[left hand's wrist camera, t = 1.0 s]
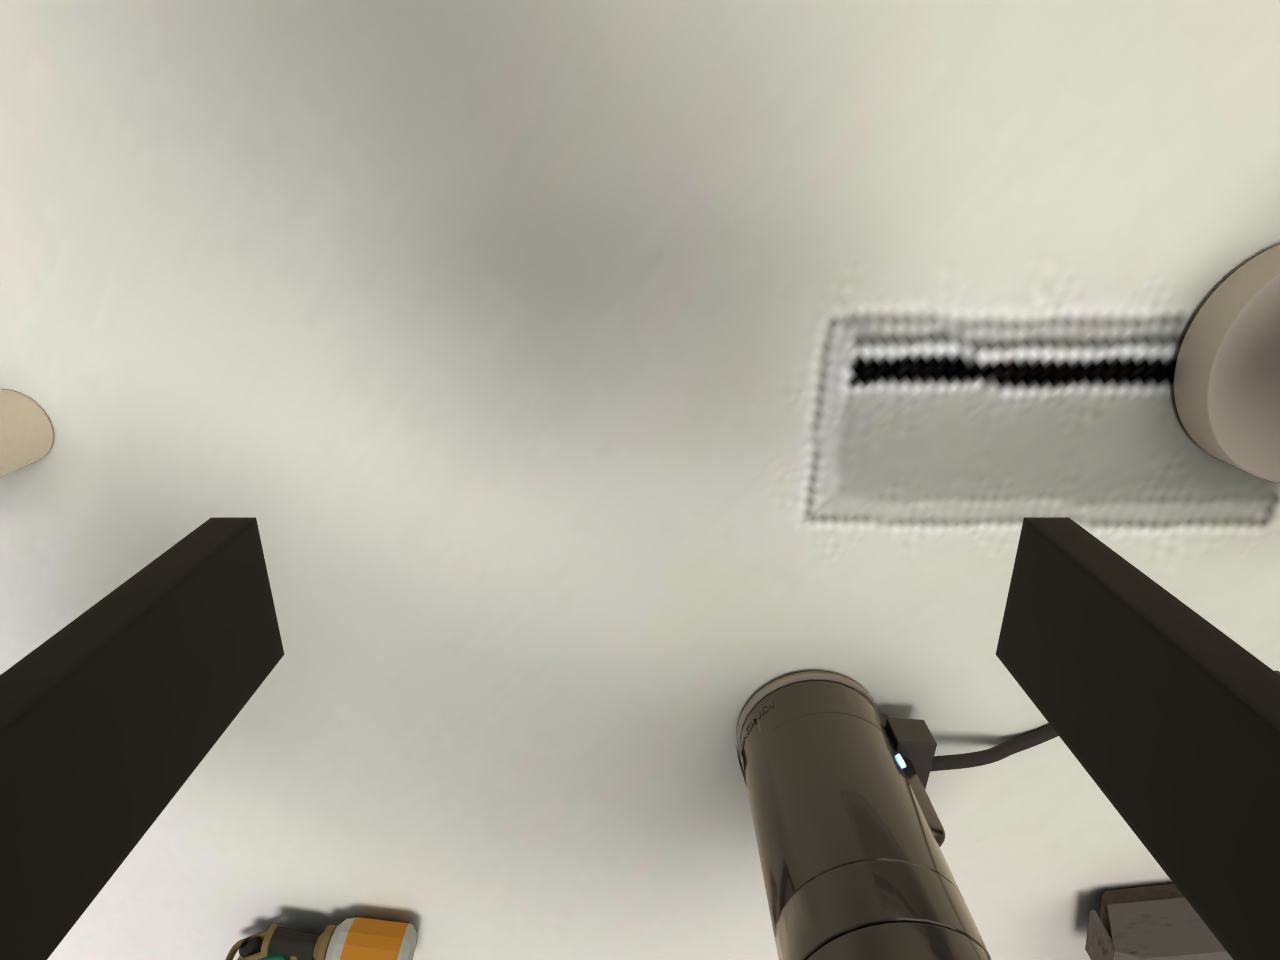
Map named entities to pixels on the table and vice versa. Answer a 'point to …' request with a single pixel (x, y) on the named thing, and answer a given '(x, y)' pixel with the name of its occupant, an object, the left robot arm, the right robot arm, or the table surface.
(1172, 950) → the toy
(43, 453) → the cream cylindrical bottle
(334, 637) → the table surface
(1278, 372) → the bust sculpture
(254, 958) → the spray gun
